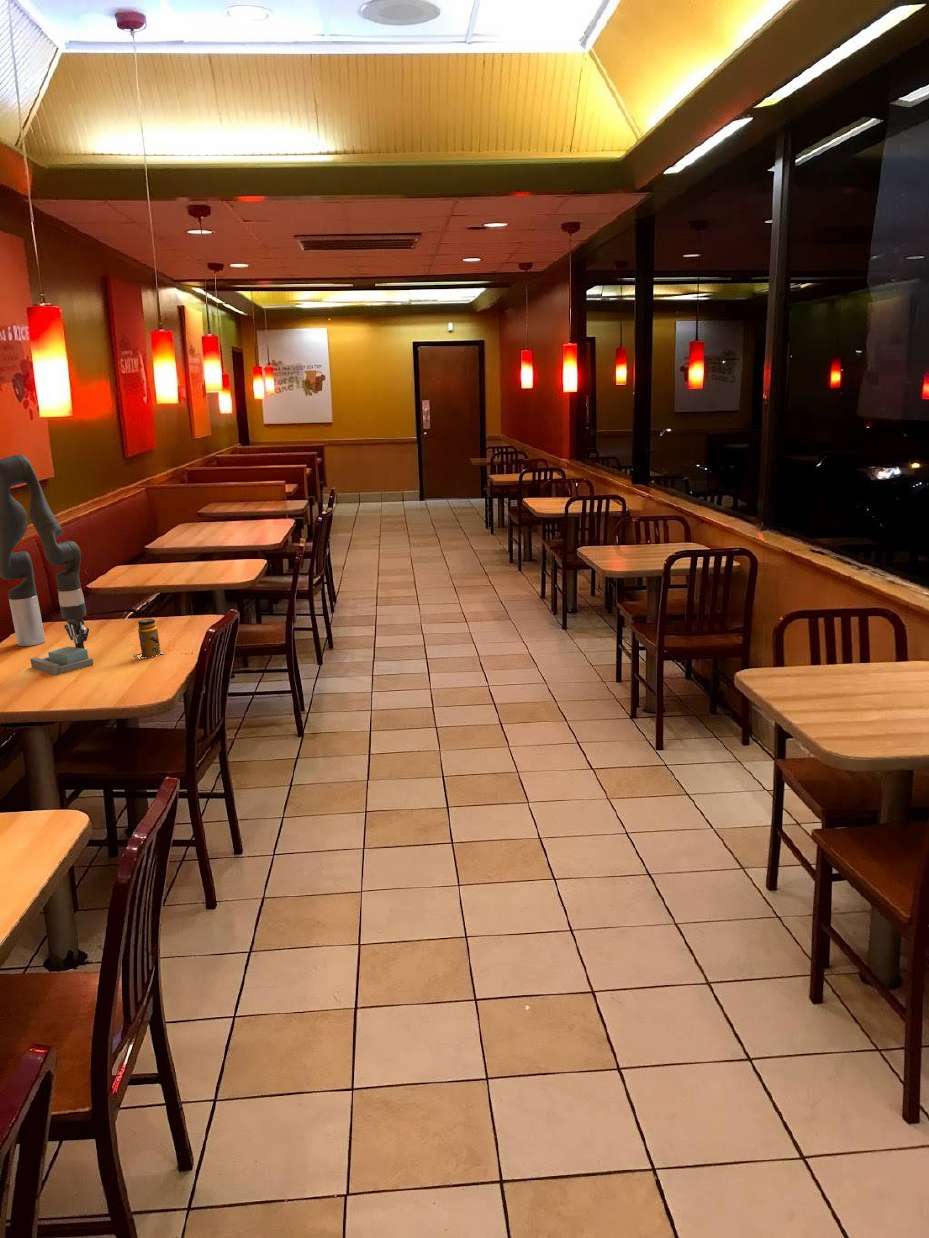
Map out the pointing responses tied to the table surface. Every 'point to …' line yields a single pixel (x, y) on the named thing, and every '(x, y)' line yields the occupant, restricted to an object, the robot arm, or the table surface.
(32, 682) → the table surface
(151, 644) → the condiment
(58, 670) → the grey u-shaped bracket
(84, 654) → the carton
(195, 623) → the table surface
